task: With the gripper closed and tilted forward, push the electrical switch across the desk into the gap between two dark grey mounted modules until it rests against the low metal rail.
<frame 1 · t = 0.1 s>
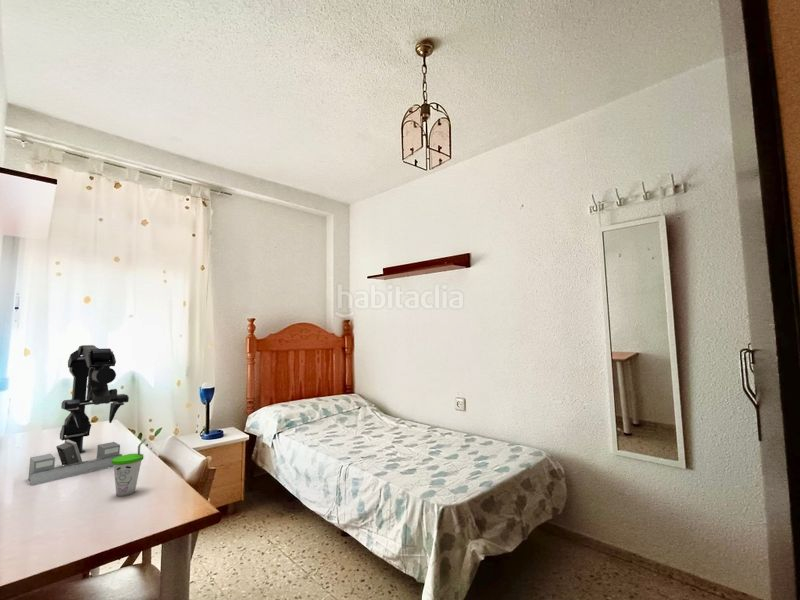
hand: (94, 425, 137), 15 cm above the table, tool pointing down, fingers open, 9 cm apart
cup: (125, 494, 110), on the table
rail: (79, 473, 127), on the table
electrical switch: (69, 467, 136), on the table
mounted modules: (76, 471, 130), on the table
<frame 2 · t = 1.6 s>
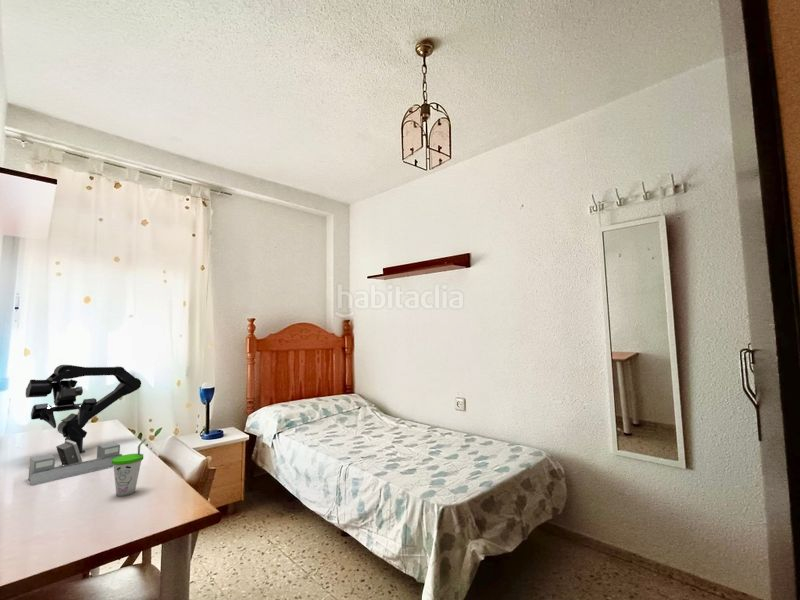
hand: (67, 425, 142), 14 cm above the table, tool tilted 45°, fingers open, 7 cm apart
nothing on the table moved.
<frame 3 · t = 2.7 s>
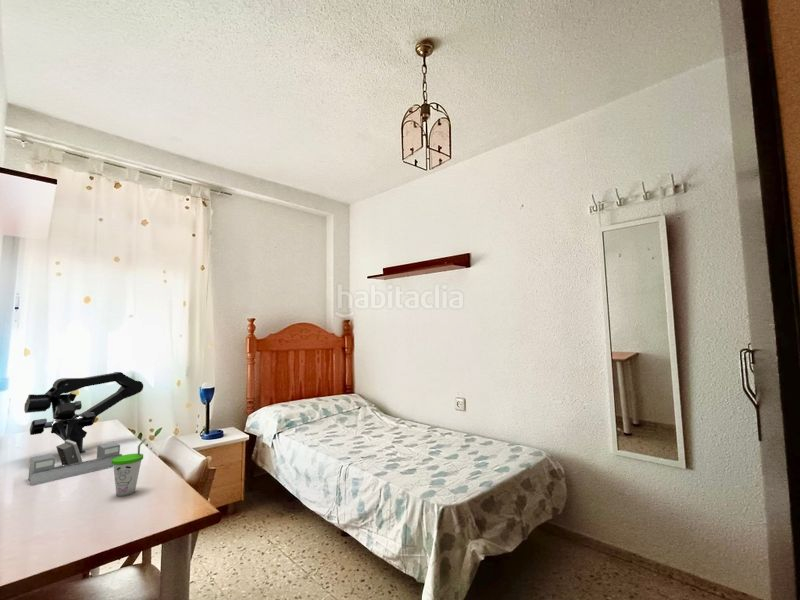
hand: (66, 440, 141), 8 cm above the table, tool tilted 45°, fingers closed
nothing on the table moved.
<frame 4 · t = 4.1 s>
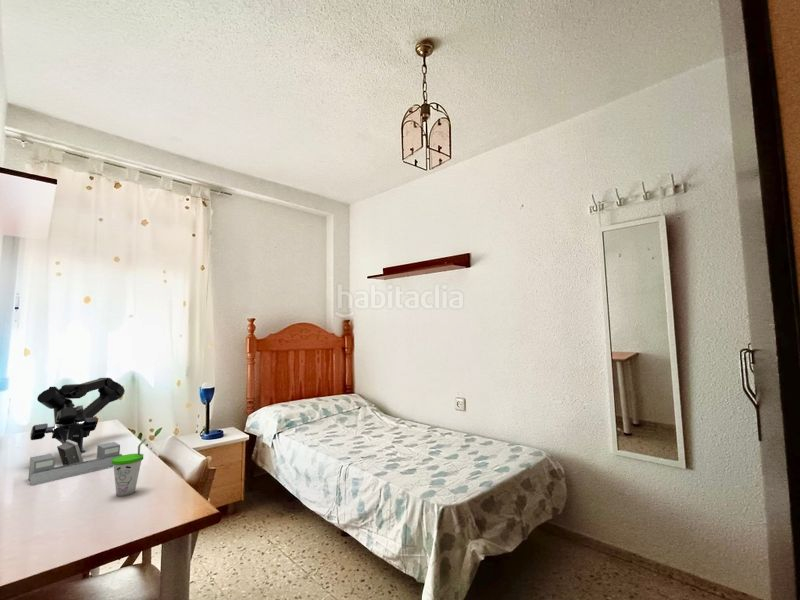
hand: (67, 446, 138), 7 cm above the table, tool tilted 45°, fingers closed, pressing on electrical switch
electrical switch: (70, 467, 135), on the table, touching gripper
everything else where it was.
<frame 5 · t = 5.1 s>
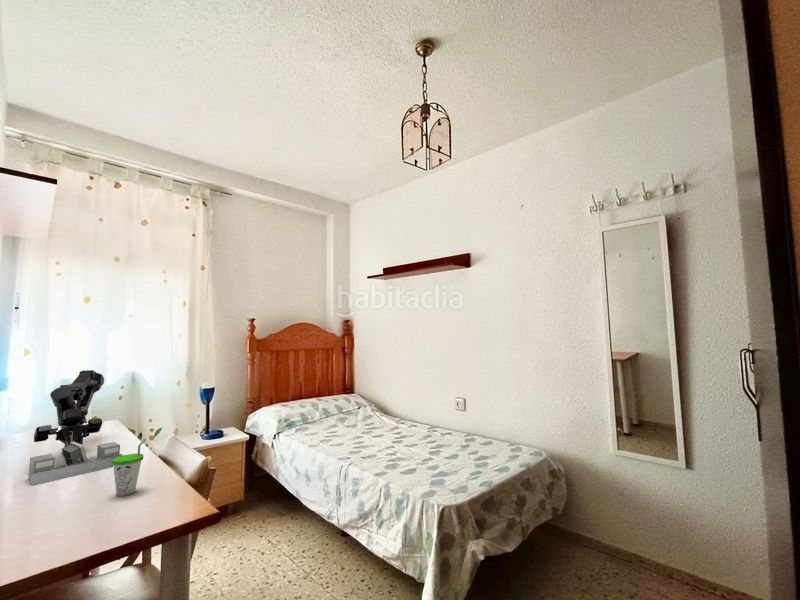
hand: (71, 448, 135), 7 cm above the table, tool tilted 45°, fingers closed, pressing on electrical switch
electrical switch: (75, 469, 132), on the table, touching gripper
everything else where it was.
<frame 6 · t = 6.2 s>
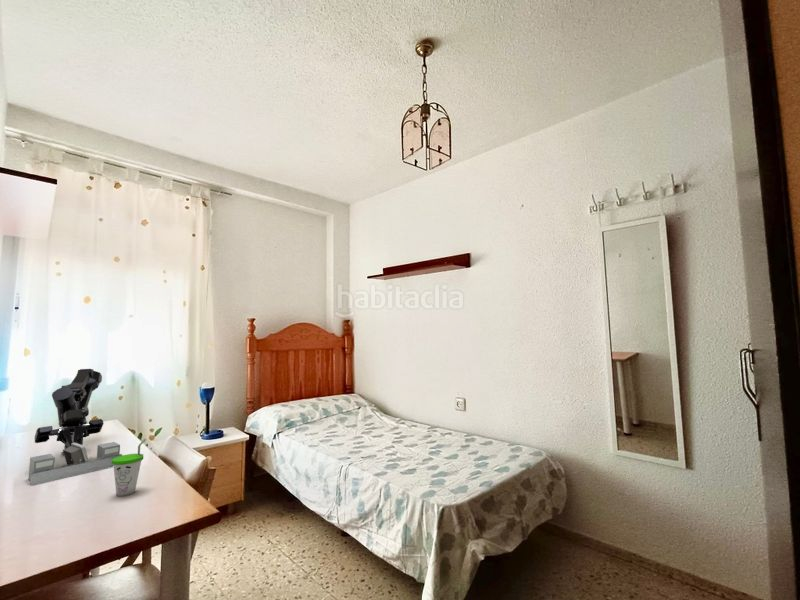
hand: (73, 449, 135), 6 cm above the table, tool tilted 45°, fingers closed
electrical switch: (76, 471, 131), on the table
everything else where it was.
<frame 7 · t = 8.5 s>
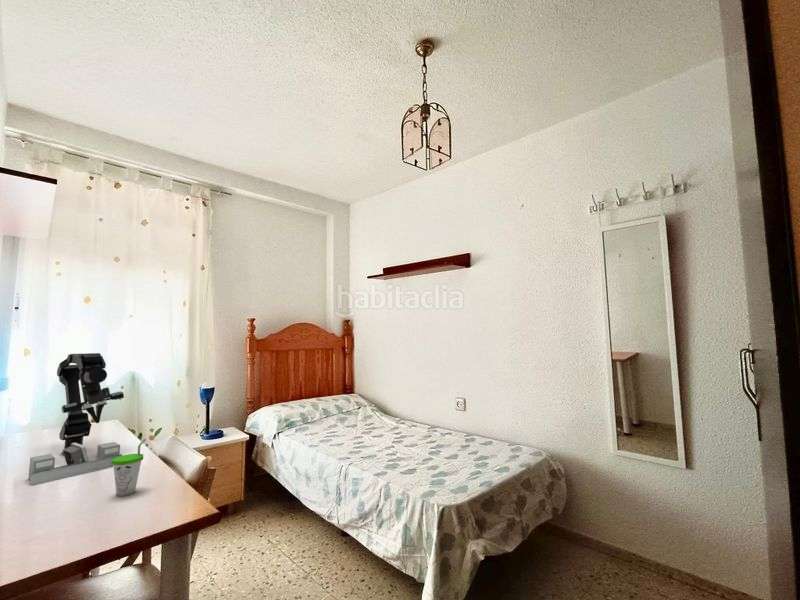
hand: (97, 423, 147), 13 cm above the table, tool pointing down, fingers closed
nothing on the table moved.
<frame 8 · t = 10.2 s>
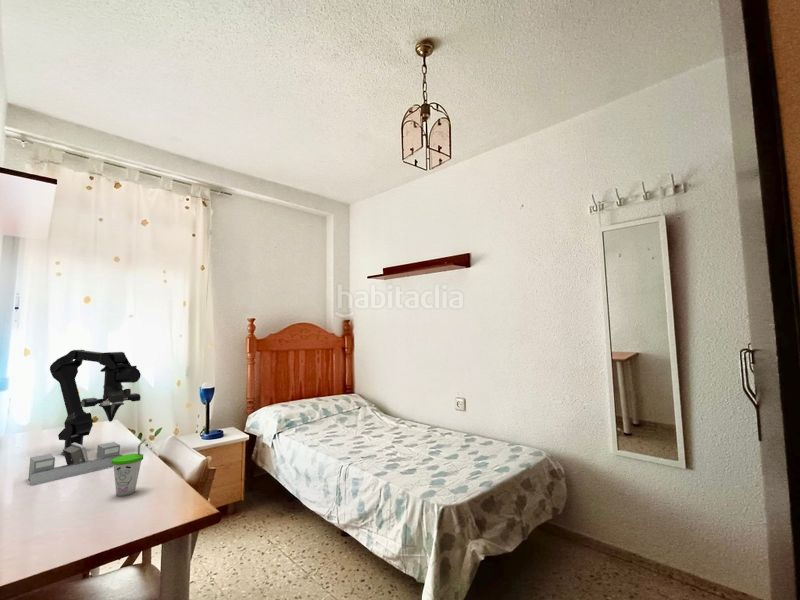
hand: (110, 421, 151), 13 cm above the table, tool pointing down, fingers closed
nothing on the table moved.
at the end: electrical switch 0.6 cm from the target spot, on the table; electrical switch tilted 0° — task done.
